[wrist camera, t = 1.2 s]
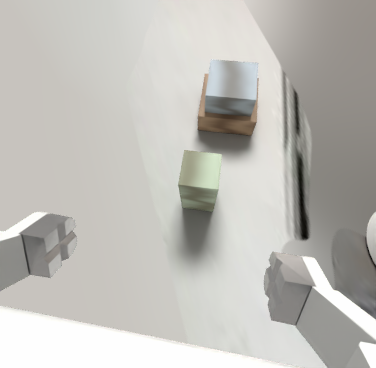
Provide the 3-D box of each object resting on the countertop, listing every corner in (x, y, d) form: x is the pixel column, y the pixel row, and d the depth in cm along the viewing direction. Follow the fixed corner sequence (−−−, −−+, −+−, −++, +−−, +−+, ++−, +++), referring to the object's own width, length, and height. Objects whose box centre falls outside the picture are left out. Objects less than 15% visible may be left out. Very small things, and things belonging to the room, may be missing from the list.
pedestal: (253, 94, 47) (264, 59, 39) (251, 135, 43) (262, 105, 36) (204, 89, 48) (205, 54, 40) (197, 130, 44) (198, 99, 36)
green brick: (215, 183, 40) (222, 154, 30) (212, 211, 38) (218, 189, 28) (187, 180, 40) (184, 150, 31) (182, 207, 38) (178, 184, 29)
